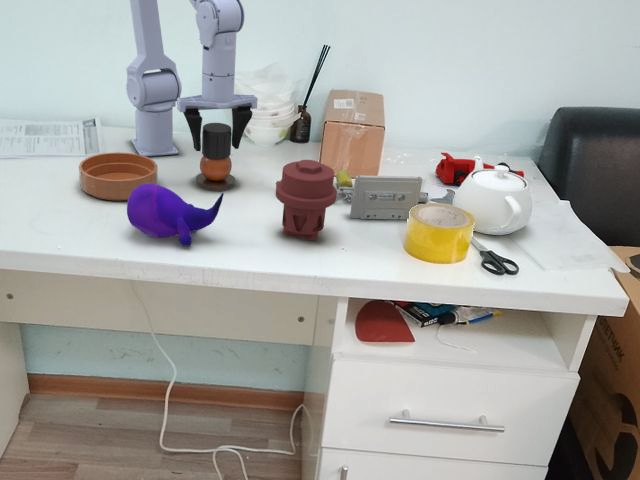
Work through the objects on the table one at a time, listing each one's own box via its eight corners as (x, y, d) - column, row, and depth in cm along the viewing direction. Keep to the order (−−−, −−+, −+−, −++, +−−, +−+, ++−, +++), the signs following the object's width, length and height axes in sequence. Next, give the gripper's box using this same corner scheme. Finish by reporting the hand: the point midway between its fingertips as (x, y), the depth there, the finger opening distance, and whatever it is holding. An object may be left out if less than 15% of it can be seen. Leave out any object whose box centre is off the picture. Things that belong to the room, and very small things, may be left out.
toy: (219, 235, 122) (133, 216, 122) (228, 182, 116) (137, 163, 116) (210, 259, 115) (119, 239, 115) (219, 204, 109) (122, 183, 109)
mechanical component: (300, 216, 128) (343, 236, 122) (260, 231, 122) (303, 253, 116) (307, 148, 121) (353, 166, 115) (265, 160, 115) (311, 180, 109)
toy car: (526, 186, 147) (533, 162, 144) (444, 186, 144) (450, 162, 141) (513, 174, 151) (520, 151, 148) (434, 174, 148) (439, 151, 146)
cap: (199, 149, 135) (199, 123, 132) (225, 148, 137) (226, 122, 134) (206, 160, 131) (207, 133, 129) (233, 158, 133) (235, 131, 130)
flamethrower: (273, 177, 140) (276, 201, 132) (274, 165, 139) (277, 187, 131) (419, 187, 143) (430, 210, 135) (422, 174, 141) (434, 197, 133)
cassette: (350, 219, 128) (356, 178, 124) (348, 214, 129) (354, 174, 125) (416, 220, 129) (424, 179, 125) (413, 215, 131) (421, 175, 127)
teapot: (546, 251, 122) (566, 191, 116) (469, 250, 121) (484, 189, 115) (499, 198, 140) (514, 144, 134) (431, 197, 139) (443, 142, 132)
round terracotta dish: (75, 175, 137) (73, 154, 134) (148, 170, 141) (147, 150, 139) (87, 205, 126) (85, 183, 124) (165, 198, 130) (165, 177, 128)
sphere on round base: (190, 177, 139) (191, 144, 136) (228, 174, 142) (229, 141, 138) (201, 192, 134) (202, 158, 130) (240, 189, 136) (242, 155, 132)
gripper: (184, 79, 121) (184, 158, 128) (265, 77, 125) (260, 153, 133) (173, 68, 126) (174, 144, 134) (251, 66, 130) (247, 140, 138)
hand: (216, 148), depth 134 cm, fingers open, 7 cm apart
